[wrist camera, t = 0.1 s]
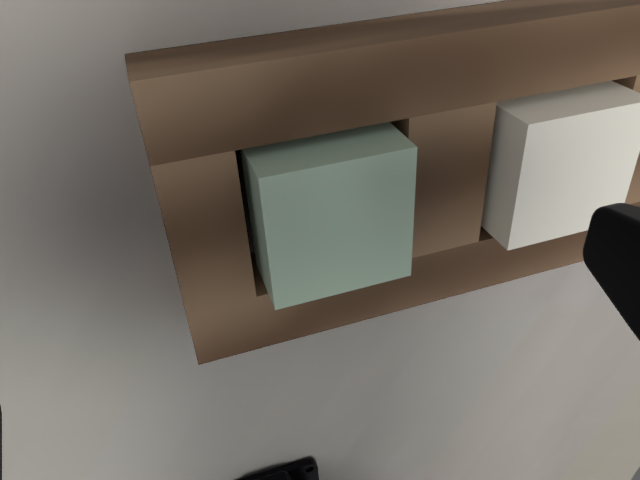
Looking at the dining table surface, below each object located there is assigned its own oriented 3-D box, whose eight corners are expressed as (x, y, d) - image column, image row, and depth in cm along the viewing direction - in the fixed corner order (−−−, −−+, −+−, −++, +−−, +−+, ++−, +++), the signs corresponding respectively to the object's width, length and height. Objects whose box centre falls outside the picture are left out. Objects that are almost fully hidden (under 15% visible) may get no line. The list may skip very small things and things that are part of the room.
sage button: (380, 236, 25) (411, 275, 23) (256, 265, 24) (274, 310, 21) (382, 115, 22) (417, 146, 20) (239, 141, 21) (258, 178, 18)
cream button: (573, 190, 27) (618, 222, 25) (469, 215, 26) (507, 250, 24) (600, 76, 24) (655, 99, 22) (483, 97, 23) (528, 124, 21)
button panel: (736, 181, 34) (785, 206, 31) (189, 318, 26) (198, 364, 24) (829, -45, 27) (901, -35, 24) (124, 54, 19) (129, 81, 17)
